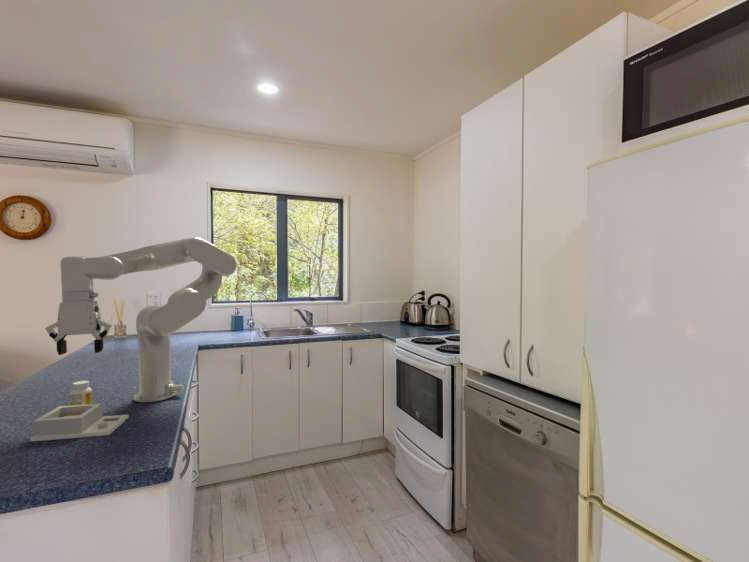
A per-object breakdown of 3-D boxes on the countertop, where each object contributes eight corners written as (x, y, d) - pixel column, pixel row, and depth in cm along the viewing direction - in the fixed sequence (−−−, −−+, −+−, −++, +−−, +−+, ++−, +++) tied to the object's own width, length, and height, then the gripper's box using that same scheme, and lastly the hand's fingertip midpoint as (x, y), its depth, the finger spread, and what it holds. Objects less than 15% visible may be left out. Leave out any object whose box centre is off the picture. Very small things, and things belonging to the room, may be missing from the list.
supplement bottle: (72, 418, 111) (71, 386, 111) (68, 413, 115) (67, 382, 114) (94, 412, 115) (93, 382, 115) (89, 408, 119) (89, 378, 119)
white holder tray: (128, 417, 111) (128, 401, 111) (108, 435, 100) (108, 416, 100) (58, 423, 108) (58, 405, 108) (29, 441, 96) (29, 422, 96)
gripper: (115, 295, 120) (118, 348, 120) (53, 297, 116) (55, 352, 117) (104, 297, 112) (106, 353, 113) (36, 299, 109) (39, 357, 109)
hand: (80, 352), depth 115 cm, fingers open, 9 cm apart
